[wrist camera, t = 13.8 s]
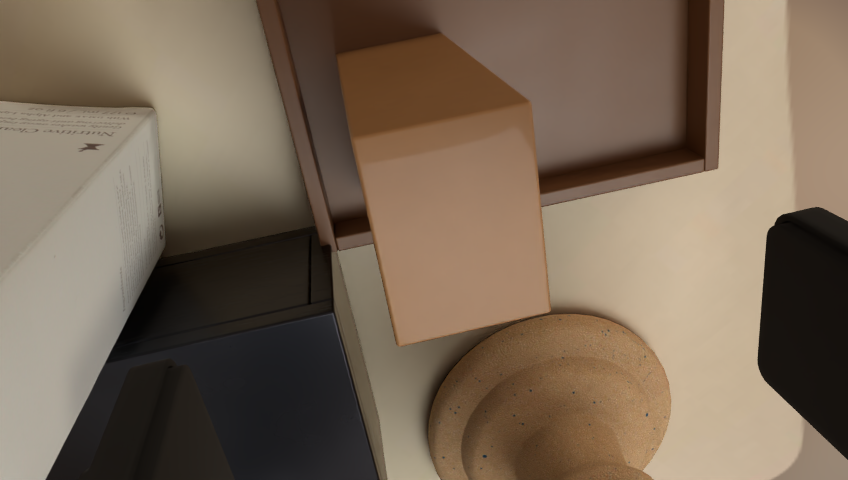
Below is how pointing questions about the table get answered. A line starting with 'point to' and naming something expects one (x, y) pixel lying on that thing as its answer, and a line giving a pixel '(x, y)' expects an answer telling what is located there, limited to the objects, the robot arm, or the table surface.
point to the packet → (446, 187)
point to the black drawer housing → (252, 360)
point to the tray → (517, 87)
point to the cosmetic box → (68, 262)
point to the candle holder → (551, 404)
